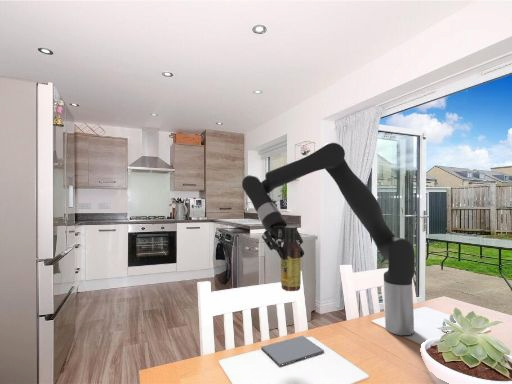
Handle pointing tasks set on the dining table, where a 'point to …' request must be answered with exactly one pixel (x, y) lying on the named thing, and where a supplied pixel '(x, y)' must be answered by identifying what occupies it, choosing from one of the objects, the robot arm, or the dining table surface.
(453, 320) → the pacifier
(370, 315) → the dining table surface
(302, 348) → the gray mat
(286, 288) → the sauce bottle
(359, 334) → the dining table surface
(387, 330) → the robot arm
